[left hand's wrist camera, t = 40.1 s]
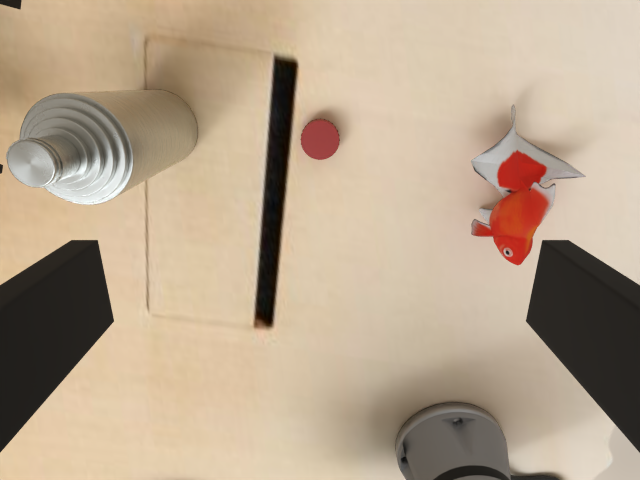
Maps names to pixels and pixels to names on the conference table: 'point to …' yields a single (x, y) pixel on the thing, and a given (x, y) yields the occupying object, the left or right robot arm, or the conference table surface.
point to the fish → (518, 192)
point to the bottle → (101, 142)
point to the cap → (320, 139)
